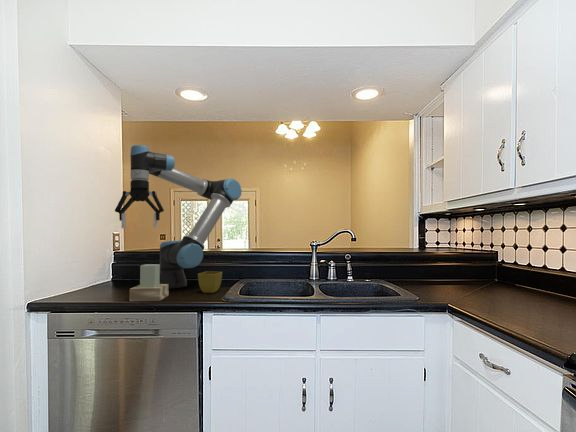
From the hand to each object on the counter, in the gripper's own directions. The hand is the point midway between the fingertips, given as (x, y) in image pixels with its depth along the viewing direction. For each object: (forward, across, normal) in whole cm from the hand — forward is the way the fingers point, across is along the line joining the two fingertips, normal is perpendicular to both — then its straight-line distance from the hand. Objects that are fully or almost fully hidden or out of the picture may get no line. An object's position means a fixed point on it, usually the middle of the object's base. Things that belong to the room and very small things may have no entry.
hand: (139, 228), depth 151 cm
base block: (+30, +6, -6) cm, 31 cm away
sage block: (+25, +6, -6) cm, 26 cm away
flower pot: (+30, +30, +5) cm, 43 cm away
